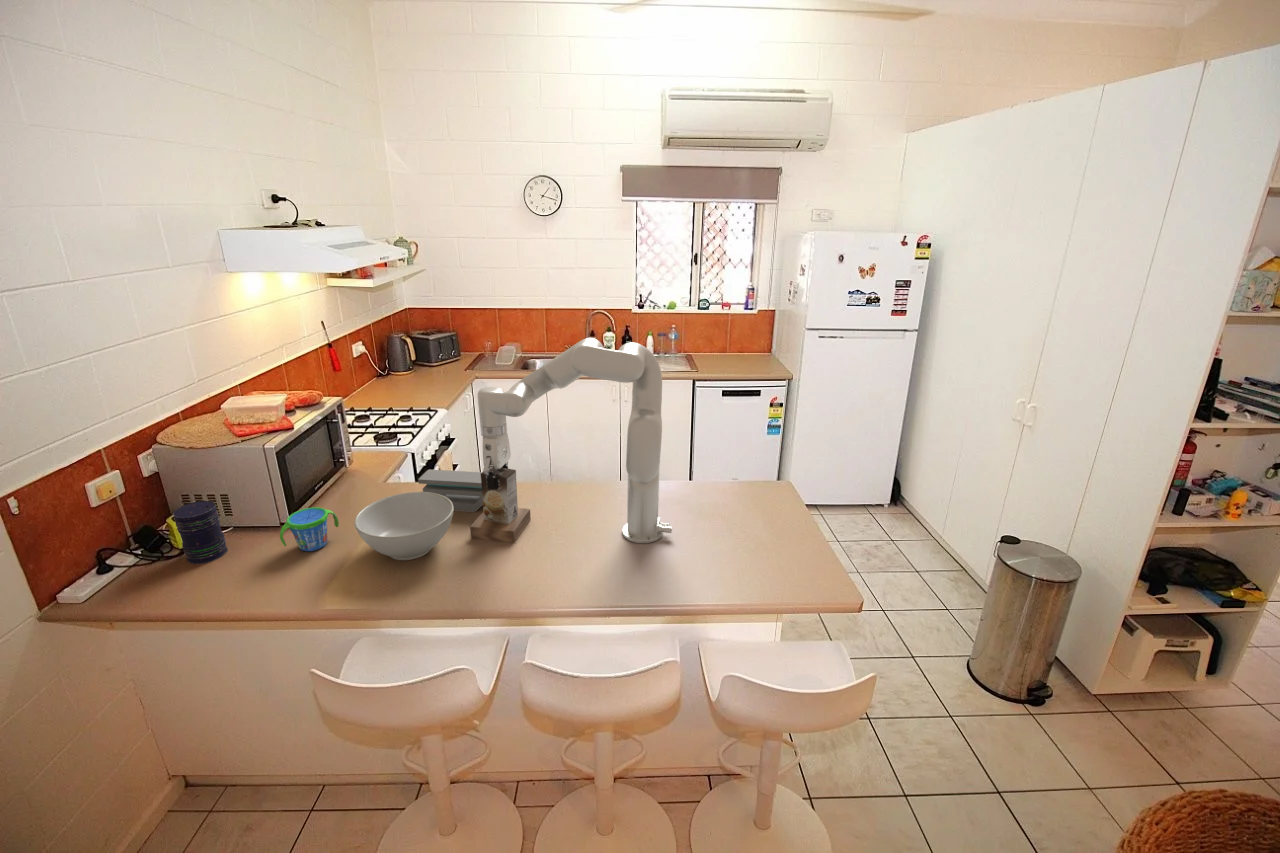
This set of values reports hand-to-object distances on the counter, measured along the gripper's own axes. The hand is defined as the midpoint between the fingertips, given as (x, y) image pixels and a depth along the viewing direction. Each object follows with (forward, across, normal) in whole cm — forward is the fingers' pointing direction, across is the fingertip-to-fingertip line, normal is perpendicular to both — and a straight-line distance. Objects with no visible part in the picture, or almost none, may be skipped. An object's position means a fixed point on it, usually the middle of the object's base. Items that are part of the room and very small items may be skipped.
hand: (498, 482), depth 181 cm
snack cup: (+16, -20, +51) cm, 57 cm away
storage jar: (+16, -30, +78) cm, 85 cm away
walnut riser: (+16, 0, 0) cm, 16 cm away
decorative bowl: (+16, -16, +22) cm, 32 cm away
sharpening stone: (+16, +12, +19) cm, 28 cm away
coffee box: (+12, 0, 0) cm, 12 cm away
